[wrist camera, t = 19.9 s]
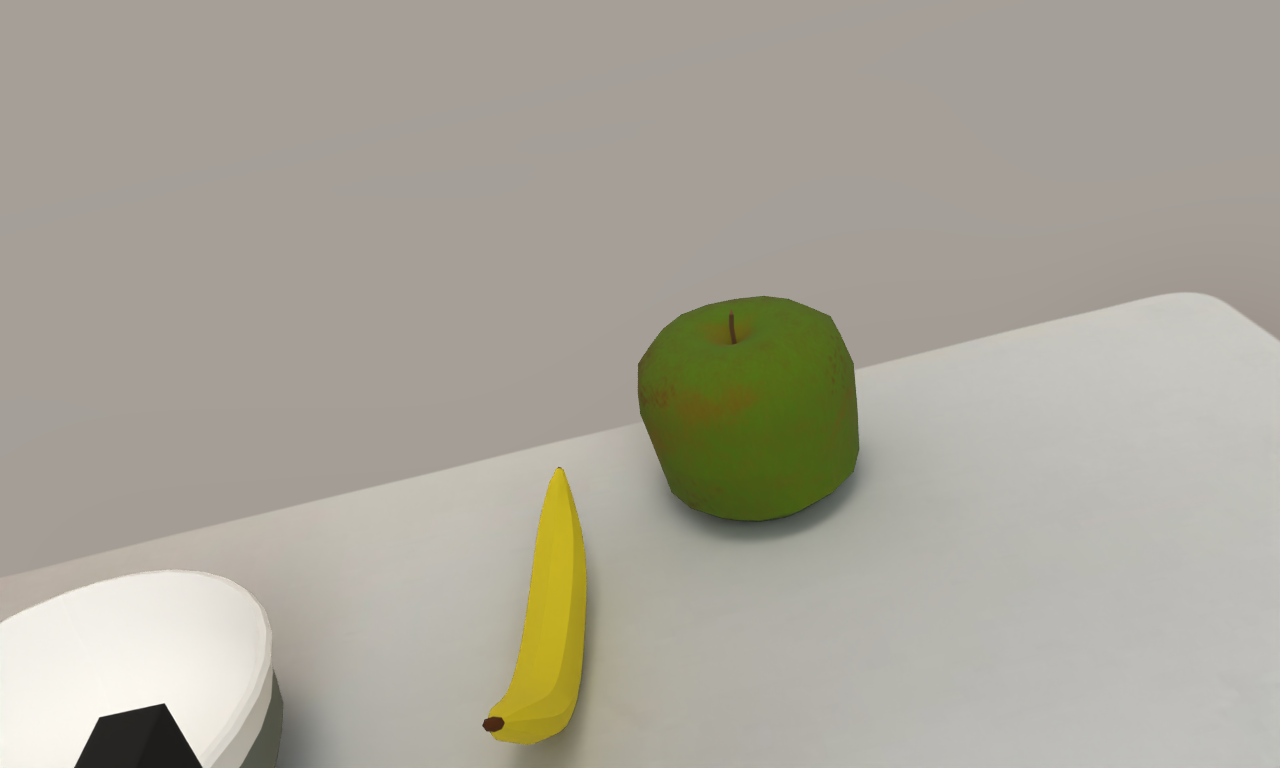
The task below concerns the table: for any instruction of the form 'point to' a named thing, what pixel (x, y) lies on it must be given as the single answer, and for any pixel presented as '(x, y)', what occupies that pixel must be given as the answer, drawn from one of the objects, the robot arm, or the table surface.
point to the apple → (751, 407)
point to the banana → (548, 629)
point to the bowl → (141, 669)
